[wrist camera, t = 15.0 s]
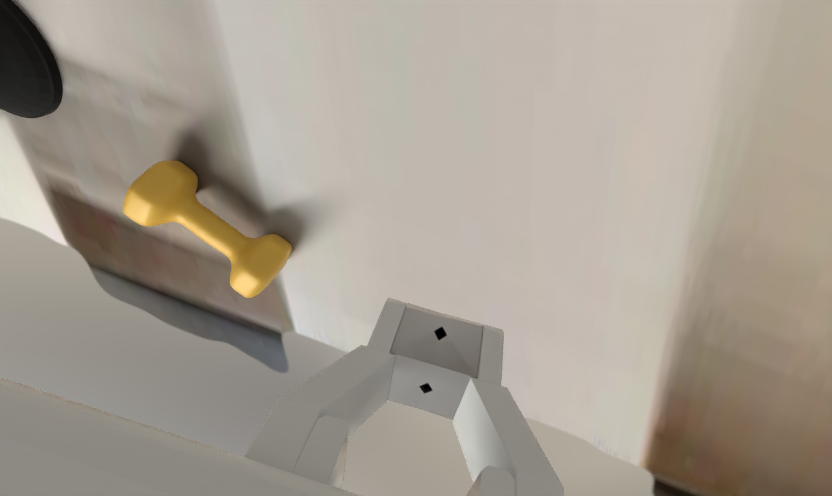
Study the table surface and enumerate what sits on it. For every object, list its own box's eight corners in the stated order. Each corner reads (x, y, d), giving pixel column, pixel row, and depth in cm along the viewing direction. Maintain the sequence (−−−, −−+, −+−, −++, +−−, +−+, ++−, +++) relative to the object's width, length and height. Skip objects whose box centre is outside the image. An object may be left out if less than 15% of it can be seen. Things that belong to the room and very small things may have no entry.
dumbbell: (160, 188, 52) (109, 219, 46) (179, 142, 47) (125, 170, 41) (277, 273, 57) (245, 312, 50) (306, 239, 52) (275, 278, 45)
